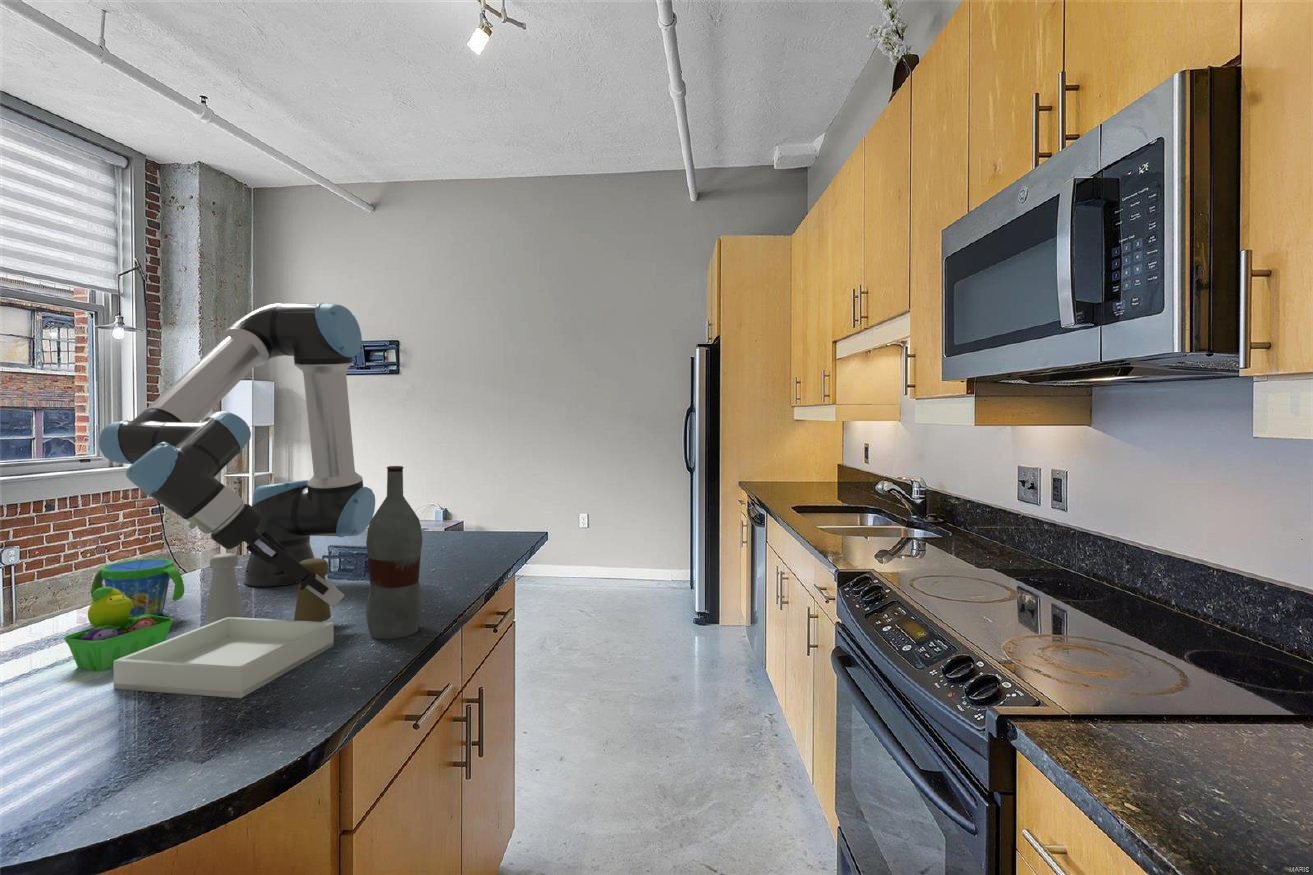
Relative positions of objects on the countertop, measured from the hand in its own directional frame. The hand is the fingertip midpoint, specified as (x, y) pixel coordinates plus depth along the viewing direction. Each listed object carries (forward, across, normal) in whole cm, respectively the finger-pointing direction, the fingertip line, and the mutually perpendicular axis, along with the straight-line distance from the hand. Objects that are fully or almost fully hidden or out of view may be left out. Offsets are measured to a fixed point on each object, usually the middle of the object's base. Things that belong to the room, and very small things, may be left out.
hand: (334, 597), depth 114 cm
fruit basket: (-18, -2, -25) cm, 31 cm away
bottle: (+9, +12, +2) cm, 15 cm away
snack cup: (-16, -26, -24) cm, 39 cm away
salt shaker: (-8, -12, -15) cm, 20 cm away
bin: (-9, +12, -15) cm, 21 cm away
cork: (0, 0, -5) cm, 5 cm away
